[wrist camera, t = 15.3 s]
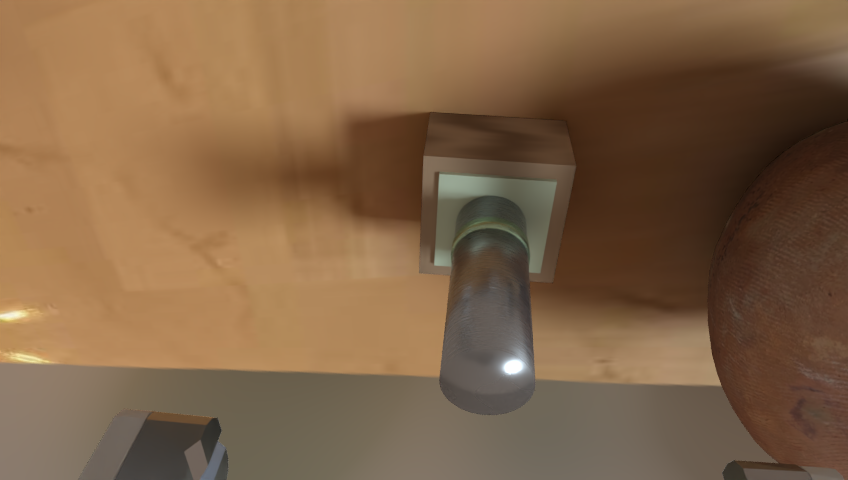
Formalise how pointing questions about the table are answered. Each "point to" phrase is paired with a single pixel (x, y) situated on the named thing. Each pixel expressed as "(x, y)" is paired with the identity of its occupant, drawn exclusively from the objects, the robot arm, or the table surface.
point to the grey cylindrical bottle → (489, 310)
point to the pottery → (788, 304)
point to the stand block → (496, 182)
